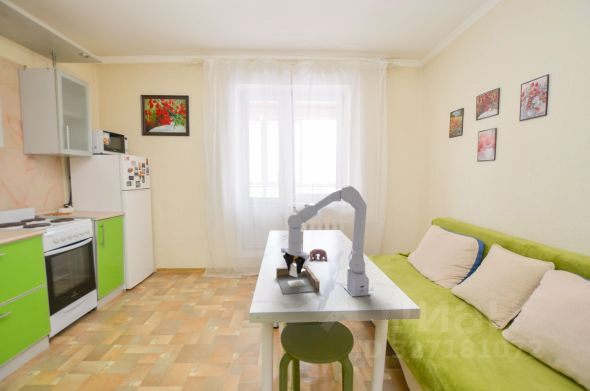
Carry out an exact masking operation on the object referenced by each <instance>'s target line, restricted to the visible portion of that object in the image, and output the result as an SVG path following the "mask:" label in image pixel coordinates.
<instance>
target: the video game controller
mask: <svg viewBox="0 0 590 391" xmlns="http://www.w3.org/2000/svg"><path fill="white" fill-rule="evenodd" d="M323 258H324V260H325V261H326V262H327V261H328V254H327V251H326V250H324V249H321V248H314V249H311V250H310V251H309V260H310V262H311V261H313V259H314V260H317V259H320V260H323Z"/></svg>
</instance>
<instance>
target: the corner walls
mask: <svg viewBox="0 0 590 391" xmlns="http://www.w3.org/2000/svg"><path fill="white" fill-rule="evenodd" d="M302 269H305V270H306V274H305V275H303V276H306V278H307V279H308V281H309V282H310V284H311V285H312V287H313V288H314V290H315V292H314V293H320V280H319V278H318V277H317V276H316V275H315V274H314V272H313V271H312V270H311V269H310V267H309V266H308V265H303V267H302ZM289 274H290V271H288V268H287V266H286V267H276V275H275V277H276V279H277V278H279V277H293V276H291V275H289Z"/></svg>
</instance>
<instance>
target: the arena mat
mask: <svg viewBox="0 0 590 391" xmlns="http://www.w3.org/2000/svg"><path fill="white" fill-rule="evenodd" d="M276 279H277V282H278V285H279V287H280V290H281V291H282V292H281V293H282V295H292V294H293V295H294V294H301V293H302V294H303V293H305V294H307V293H313V292H314V293H316V292H315V290H314V288H313V287H312V285H311V284H310V282H309V281H308V279H307V278H306V276H300V277H298V278H297V277H294V276H293V277H279V278H277V277H276Z"/></svg>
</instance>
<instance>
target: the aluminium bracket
mask: <svg viewBox="0 0 590 391" xmlns="http://www.w3.org/2000/svg"><path fill="white" fill-rule="evenodd" d="M305 274H306V270H305V269H302V271H301V273H300V274H297V268H296V262H293V263H291V264H290V274H289V275H291V276H294V277H297V278H298V277H300V276H303V275H305Z"/></svg>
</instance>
